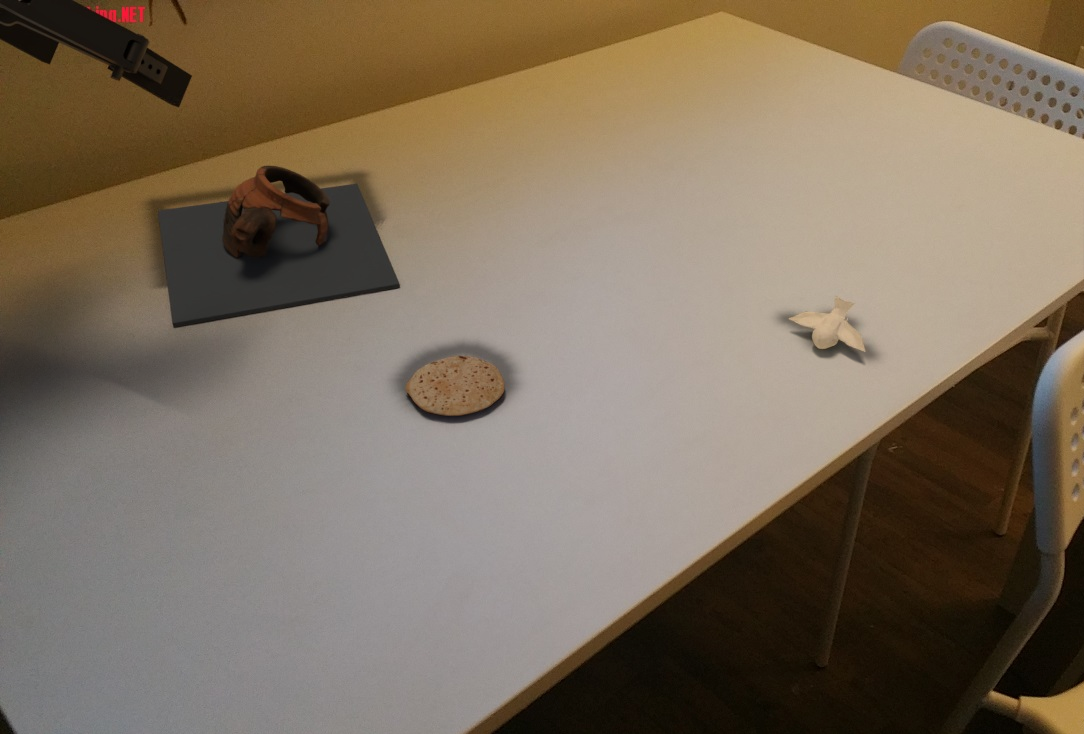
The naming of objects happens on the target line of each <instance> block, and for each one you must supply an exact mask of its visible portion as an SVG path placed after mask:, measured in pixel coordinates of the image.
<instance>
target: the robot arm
mask: <svg viewBox="0 0 1084 734" xmlns="http://www.w3.org/2000/svg"><path fill="white" fill-rule="evenodd" d="M0 41H2V42H5V43H6V44H8V45H9V46H12V47H14V48H15V49H17V50H19V51H20V52H23V53H25V54H27V55H28V56H30V57H32V58H34V59H36V60H38V61H39V62H41V63H44V64H46V65H51V63H52V61H53V58H54V56H55V53H56V51H57V49H58V46H59V44H62V45H64V46H66V47H68V48H70V49H72V50H74V51H77V52H80V53H81V54H84V55H85V56H87V57H90V58H92V59H94V60H95V61H98V62H101V63H103V64H104V65H107V70H108V71H110V72H112V73H111V74H110V77H109V78H110V79H113V80H114V81H118V82H120V81H121V79H122V78H123V79H124V80H127V81H128V82H130V83H132V84H134V85H135V86H137V87H139V88H140V89H142V90H144V91H146V92H148V93H149V94H151V95H152V96H154V97H156V98H158V99H160V100H162V101H164V102H165V103H167V104H169V105H171V106H173V107H176V108H180V106H181V104H182V101H183V99H184V97H185V95H186V92H187V90H188V87H189V84H190V82H191V80H192V78H193V75H192V74H190V73H189V72H187V71H185V70H184V69H182V68H181V67H179V65H178V66H177V65H176V64H175V63H173V62H171V61H170V60H169V59H167V58H165V57H163V56H162V55H160V54H159V53H157V52H155V51H153V50H152V49H151V48H149V44H150V42H151V41H150V40H149V39H148V38H147V37H146V36H144V35H143V34H140V33H136V32H134V31H133V30H130V29H128V28H127V27H125V26H123V25H121V24H119V23H117V22H116V21H113V20H112V19H109V18H108V17H106V16H104V15H102V14H100V13H98V12H96V11H94V10H93V9H90V8H88V7H87V6H85V5H83V4H82V3H79V2H77V1H75V0H0Z"/></svg>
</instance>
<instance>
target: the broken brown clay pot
mask: <svg viewBox="0 0 1084 734" xmlns="http://www.w3.org/2000/svg"><path fill="white" fill-rule="evenodd" d="M276 182H277V183H278V182H281V183H282V185H283V187H284V190H283V191H282V190H280V189H279V188H278V187H276V186H275V185H274V184H273V183H276ZM320 188H321V187H319V185H318V184H316V183H315V182H314V181H312V180H311V179H309V178H307V177H305V176H303V175H302V174H300V173H298V172H295V171H293V170H290V169H288V168H285V167H282V166H278V165H262V166H260V167H259V168H258V169H257V170H256V174H255V176H253V177H250V178H248V179H246V180H244V181H242V182H241V183H240V184H238V185H237V186H236V187H235V189H234V190H233V191H232V193H231V195H230V196H229V198H228V200H227V201H228V203H227V208H226V209H225V211H226V213H225V218H224V220H223V222H224V225H223V228H224V229H223V236H222V241H223V244H224V246H225V248H226V249H227V250H228V251H229V252H230V253H231V254H232V255H234V256H235V257H236V258H239V257H240V256H241V252H243V253H245V254H246V255H248V256H249V257H265V255H266V251H267V247H268V242H269V240H270V239H271V237H272V234H273V232H274V231H275V229H276V219H277V218H276V215H275V213H274V212H272V211H271V210H277V211H280V216H281V217H282V218H288V219H292V220H294V221H304V222H307V223H309V224H317V228H318V233H317V238H316V244H317V245H318V246H319V245H321V244H323V243H324V239H325V237H326V236H327V234H326V233H327V230H328V228H329V224H328V217H327V213H326V209H327V207H328V206H329V204H330V203H329V199H328V196H327V195H326V193H325V192H324V191H323V190H322V189H320ZM284 193H295V194H298V195H300V196H301V197H303V198H304V199H305V200H307V201H310V202H312V203H309V202H304V201H302V200H299V199H296V198H294V197H292V196H289V195H287V194H284ZM243 208H244V209H245V210H244V211H243V212H242V209H243ZM241 214H242V215H241Z"/></svg>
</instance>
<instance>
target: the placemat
mask: <svg viewBox="0 0 1084 734" xmlns="http://www.w3.org/2000/svg"><path fill="white" fill-rule="evenodd" d="M319 188H320V189H322V190H323V191H324V192H325V193H326V195H327V196H328V199H329V203H330V204H329V206H328V207H327V209H326V213H327V217H328V224H329V228H328V230H327V233H326V234H327V236H326V237H325V239H324V243H323V244H321V245H319V246H318V245H317V244H316V238H317V233H318V228H317V224H309V223H307V222H304V221H294V220H292V219H288V218H282V217H281V216H280V211H277V210H271V211H272V212H274V213H275V215H276V218H277V219H276V229H275V231H274V232H273V234H272V237H271V239H270V240H269V242H268V247H267V251H266V255H265V257H249V256H248V255H246V254H245V253H243V252H241V256H240V257H239V258H236V257H235V256H234V255H232V254H231V253H230V252H229V251H228V250H227V249H226V248H225V246H224V244H223V241H222V236H223V229H224V228H223V225H224V222H223V220H224V218H225V213H226V211H225V209H226V208H227V203H228V201H229V200H226V201H225V200H224V201H218V202H217V201H216V202H211V203H210V202H209V203H204V204H203V203H202V204H195V205H188V206H181V207H175V208H174V207H173V208H167V209H159V210H157V216H158V224H159V231H160V239H161V247H162V253H163V262H164V269H165V276H166V277H165V278H166V284H167V292H168V293H167V294H168V298H169V300H168V301H169V307H170V315H171V322H172V326H173V328H178V327H183V326H190V325H195V324H200V323H207V322H212V321H218V320H224V319H230V318H234V317H240V316H247V315H251V314H257V313H258V314H259V313H262V312H270V311H274V310H279V309H280V310H281V309H285V308H292V307H297V306H302V305H308V304H314V303H319V302H320V303H321V302H325V301H326V302H327V301H332V300H338V299H343V298H348V297H353V296H354V297H355V296H360V295H365V294H371V293H378V292H383V291H388V290H395V289H399V288H401V285H400V281H399V279H398V277H397V274H396V272H395V269H394V267H393V265H392V262H391V260H390V258H389V256H388V253H387V251H386V248H385V246H384V243H383V240H382V239H381V237H380V234H379V232H378V229H377V227H376V225H375V222H374V220H373V217H372V216H371V213H370V210H369V208H368V206H367V204H366V201H365V199H364V196H363V194H362V191H361V190H360V187H359V185H358V183H350V184H344V185H343V184H342V185H336V186H329V187H328V186H327V187H319ZM283 193H284V194H287V195H289V196H292V197H294V198H296V199H299V200H302V201H304V202H309V203H312V202H310V201H307V200H305V199H304V198H303V197H301V196H300V195H298V194H295V193H285V192H283ZM244 210H245V209H244V208H243V209H242V212H243V211H244ZM241 215H242V214H241Z"/></svg>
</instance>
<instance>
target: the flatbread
mask: <svg viewBox="0 0 1084 734" xmlns="http://www.w3.org/2000/svg"><path fill="white" fill-rule="evenodd" d="M405 392H406V393H407V394H408V395H409V396H410V398H411V400H412V401H413V402H414V403H415V404H416V405H417V407H418V408H419V409H421V410H422V411H425V412H426V413H431V414H434V415H440V416H445V417H459V416H465V415H470V414H474V413H477V412H479V411H483V410H485V409H487V408H489V407H490V406H492V405H493V404H495V402H497V401H498V400H499V399H500V398H501V397H502V396H503V394H504V392H505V381H504V377H503V375H502V373H501V372H500V370H499V369H498V367H497V366H495V365H494V364H492V363H490V362H487V361H486V360H483V359H480V358H479V357H475V356H467V355H459V354H458V355H453V356H448V357H445V358H442V359H441V358H440V359H438V360H435V361H431V362H429V363H427V364H425V365H424V366H422V367H420V368H418V369H417V370H415V372H414V373H413V375H412V376H411V378H410V379H409V380H408V382H407V383H406V384H405Z"/></svg>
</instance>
